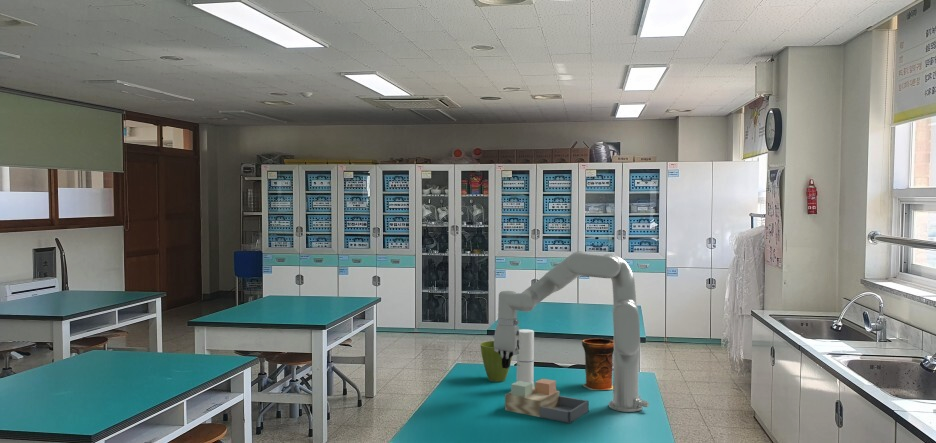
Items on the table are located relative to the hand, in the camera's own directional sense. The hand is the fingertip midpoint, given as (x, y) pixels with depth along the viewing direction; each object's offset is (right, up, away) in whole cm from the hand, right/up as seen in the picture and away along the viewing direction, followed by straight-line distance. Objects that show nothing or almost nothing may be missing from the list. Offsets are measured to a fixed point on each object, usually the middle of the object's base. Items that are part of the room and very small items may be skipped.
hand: (505, 367), depth 267 cm
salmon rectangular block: (+15, -7, -9) cm, 19 cm away
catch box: (+21, -14, -18) cm, 31 cm away
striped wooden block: (+10, -13, -10) cm, 19 cm away
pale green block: (+5, -7, -13) cm, 15 cm away
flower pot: (-2, -12, +31) cm, 33 cm away
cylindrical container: (+9, -13, +15) cm, 22 cm away
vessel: (+41, -13, +20) cm, 48 cm away
